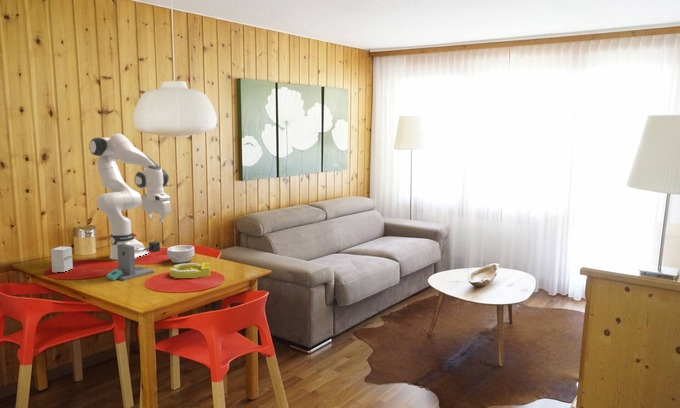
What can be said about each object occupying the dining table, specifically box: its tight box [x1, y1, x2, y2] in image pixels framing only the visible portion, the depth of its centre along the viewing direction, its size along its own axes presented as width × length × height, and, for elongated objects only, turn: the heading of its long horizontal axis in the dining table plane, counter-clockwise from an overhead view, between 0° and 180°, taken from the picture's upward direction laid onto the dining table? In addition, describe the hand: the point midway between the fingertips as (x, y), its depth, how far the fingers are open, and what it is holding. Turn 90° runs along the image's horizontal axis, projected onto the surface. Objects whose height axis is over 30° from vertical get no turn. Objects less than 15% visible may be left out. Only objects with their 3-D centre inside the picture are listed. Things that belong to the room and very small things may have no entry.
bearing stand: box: [107, 244, 155, 281], centre depth 282 cm, size 18×14×16 cm
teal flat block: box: [106, 268, 123, 281], centre depth 275 cm, size 2×6×6 cm
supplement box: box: [50, 245, 74, 273], centre depth 286 cm, size 7×7×13 cm
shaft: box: [134, 240, 161, 253], centre depth 287 cm, size 20×4×5 cm, turn 146°
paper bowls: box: [166, 244, 195, 264], centre depth 310 cm, size 15×15×8 cm
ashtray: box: [169, 262, 211, 279], centre depth 285 cm, size 16×21×5 cm
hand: (156, 220), depth 293 cm, fingers open, 8 cm apart
